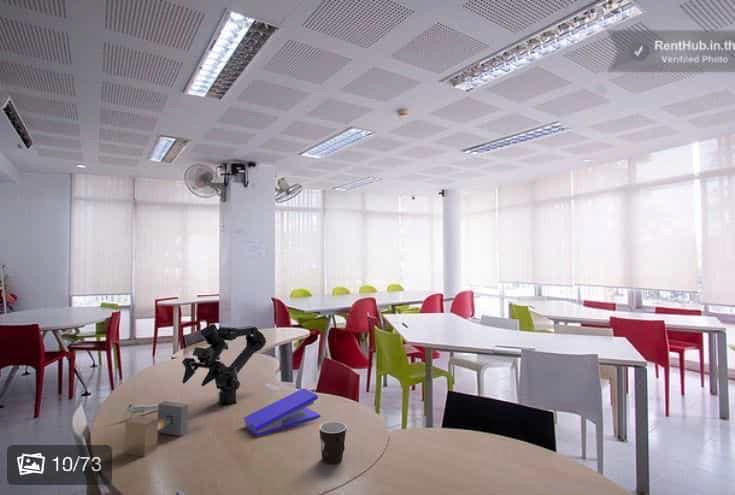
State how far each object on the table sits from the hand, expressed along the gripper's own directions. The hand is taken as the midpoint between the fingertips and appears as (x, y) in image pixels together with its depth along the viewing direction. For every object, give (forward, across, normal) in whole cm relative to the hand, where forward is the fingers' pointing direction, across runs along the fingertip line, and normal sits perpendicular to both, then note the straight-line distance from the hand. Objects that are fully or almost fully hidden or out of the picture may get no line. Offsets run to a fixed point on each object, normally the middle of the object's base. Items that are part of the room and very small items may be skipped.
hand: (192, 384), depth 147 cm
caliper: (+8, -21, +12) cm, 26 cm away
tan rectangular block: (+24, +2, -2) cm, 24 cm away
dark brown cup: (+17, +64, +4) cm, 66 cm away
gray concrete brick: (+18, +2, +3) cm, 18 cm away
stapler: (+1, +34, +19) cm, 39 cm away
